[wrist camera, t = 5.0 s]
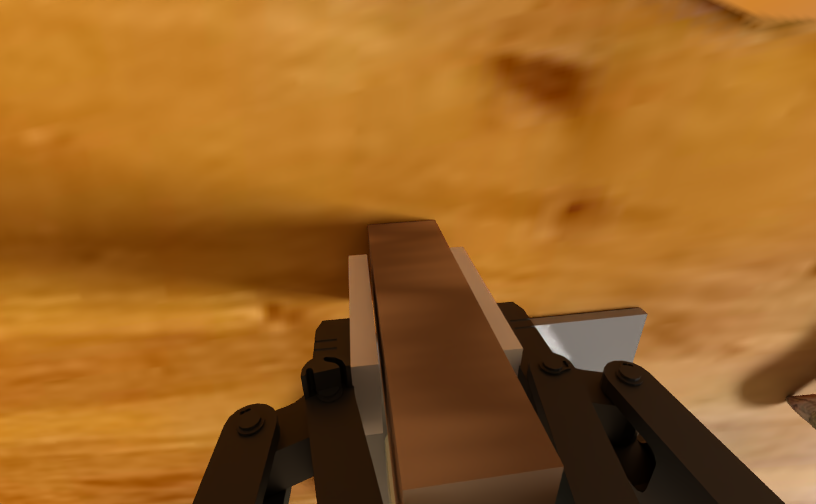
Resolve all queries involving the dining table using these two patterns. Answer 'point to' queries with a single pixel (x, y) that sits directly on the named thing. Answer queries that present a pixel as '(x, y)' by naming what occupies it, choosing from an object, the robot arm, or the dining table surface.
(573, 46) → the dining table surface
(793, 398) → the decorative bird
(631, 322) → the square base green ring
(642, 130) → the dining table surface
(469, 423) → the wooden rectangular beam
